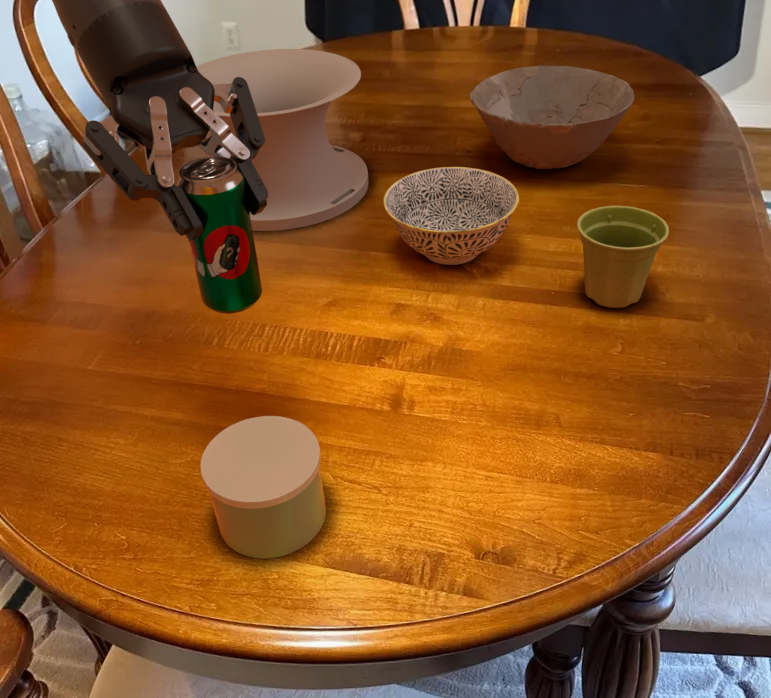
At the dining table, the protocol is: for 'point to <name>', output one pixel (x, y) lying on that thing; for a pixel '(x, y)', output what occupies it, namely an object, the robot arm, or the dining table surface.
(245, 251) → the soda can
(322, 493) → the canister
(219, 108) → the vase
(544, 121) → the ceramic bowl
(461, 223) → the bowl
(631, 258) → the plant pot
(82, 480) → the dining table surface
